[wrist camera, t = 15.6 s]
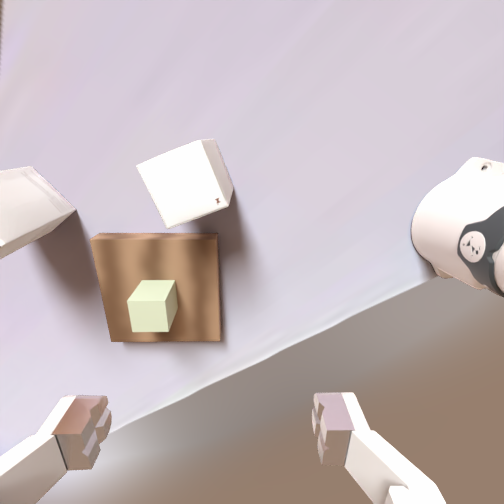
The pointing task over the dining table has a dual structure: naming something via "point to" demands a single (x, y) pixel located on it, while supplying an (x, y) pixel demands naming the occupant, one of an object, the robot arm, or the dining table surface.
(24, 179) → the skincare box
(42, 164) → the dining table surface
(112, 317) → the walnut stand
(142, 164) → the supplement box
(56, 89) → the dining table surface
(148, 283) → the sage block
